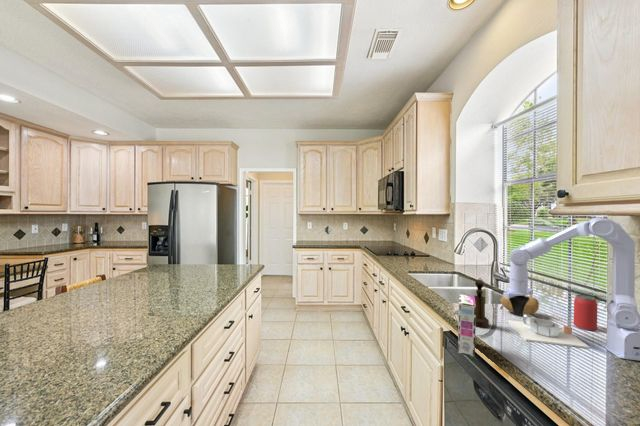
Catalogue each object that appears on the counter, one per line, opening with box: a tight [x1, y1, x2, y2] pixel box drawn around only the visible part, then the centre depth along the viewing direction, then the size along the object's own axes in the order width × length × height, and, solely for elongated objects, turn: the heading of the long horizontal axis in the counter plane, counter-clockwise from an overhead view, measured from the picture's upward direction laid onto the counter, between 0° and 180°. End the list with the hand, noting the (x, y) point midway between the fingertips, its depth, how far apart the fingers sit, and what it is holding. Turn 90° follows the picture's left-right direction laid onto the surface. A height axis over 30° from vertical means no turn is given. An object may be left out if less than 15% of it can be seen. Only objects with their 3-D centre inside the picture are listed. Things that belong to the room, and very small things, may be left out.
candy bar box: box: [457, 293, 477, 358], centre depth 91 cm, size 11×5×16 cm, turn 152°
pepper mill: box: [474, 279, 490, 328], centre depth 109 cm, size 7×6×18 cm
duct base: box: [507, 318, 590, 349], centre depth 101 cm, size 17×18×5 cm
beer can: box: [573, 294, 598, 332], centre depth 107 cm, size 7×7×12 cm
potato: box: [499, 295, 540, 316], centre depth 121 cm, size 10×14×8 cm
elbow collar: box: [522, 313, 560, 337], centre depth 104 cm, size 13×8×3 cm, turn 3°
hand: (517, 314), depth 106 cm, fingers closed
